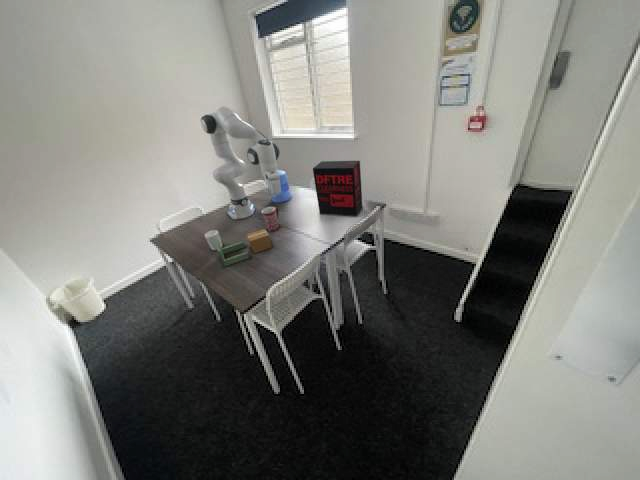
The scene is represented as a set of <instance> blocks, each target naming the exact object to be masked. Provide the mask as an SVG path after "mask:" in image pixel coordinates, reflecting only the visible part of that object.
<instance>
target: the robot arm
mask: <svg viewBox="0 0 640 480" xmlns="http://www.w3.org/2000/svg"><path fill="white" fill-rule="evenodd" d="M200 124H201V127H202V129H203V131H204V132H205V133H206V134H209V136H210V137H209V138H210V141H211V144H212V147H213V150H214V152H215V155H216V157H218V158H220V159H222V160H224V162H225V163H224V164H222V165H219V166H217V167H216V168H214V169H213V171H212V177H213V179H214V181H215V182H217V183H218V184H221V185H223V186H224V187H225V188H226V190H227V192H228V194H229V197H230V198H229V199H230V205H229V206H228V212H227V215H228V216H229V217H230V218H231V219H232V220H238V219H239V220H241V219H245V218H249V217H251V216H252V215H253V214H254V213H255V210H256V209H255V207H254V204H253V203H252V202H251V200H250V199H249V197H248V194H247V193H246V189H245V187H244V185H243V184H242V183H240V182H237V181H236V179H237V178H238V177H241V176H242V175H244V174H245V173H246V172H247V169H248V168H247V164H246V162H245V161H244V160H242V159H240V158H239V157H238V156H237V155H236V154H235V152H234V149H233V147H232V144H231V141H230V138H229V137H231V138H233V139H235V140H236V139H237V140H242V139H243V140H250V141H251V140H252V141H254V142H255V143H256V144H254V145H253V146H250V147H249V148H247V152H246V158H247V160H248V162H249V163H250V164H252V165H253V166H258V165H259V166H260V172H261V177H262V178H264V183H265V185H266V186H267V187H268V189H269V188H270V190H271V193H272V196H273V197H276V194H278V193H280V192H281V187H280V180H279V178H280V174H279V172H278V170H279V169H278V164H277V160H278V159H279V157H280V151H281V150H280V147H279V146H278V145H277V144H276V143H275V142H274V141H272V140H270V139H269V138H268V137H267V136H265V135H264V133H262V132H261V131H260V130H259V129H257V128H256V127H255V126H253V125H251V124H249V123H247V122H245V120H242V119H241V118H240V117H239V116H238V114H236V112H235V111H234V110H232V109H231V108H229V107H227V106H220V107H219V108H218V109H217V110H216V111H215V112H212V113H209V114H204V115H202V116H201V118H200ZM270 190H269V191H270ZM271 193H270V194H271Z"/></svg>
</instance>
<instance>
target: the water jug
mask: <svg viewBox="0 0 640 480" xmlns="http://www.w3.org/2000/svg"><path fill="white" fill-rule="evenodd" d="M278 172H279V174H280V178H279V180H280V187H281V192H280V193H278V194H276V197H273V196H272V193H271V190H270V188H269V187H268V189H269V193H270V196H271V201H272V202H273V203H279V204H280V203H285V202H287V201H289V200H290V199H291V198H292V194H291V189H290V185H289V180H288V176H287V172H286V171H284V170H280V169H278Z"/></svg>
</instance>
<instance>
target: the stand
mask: <svg viewBox="0 0 640 480" xmlns="http://www.w3.org/2000/svg"><path fill="white" fill-rule="evenodd" d="M216 245H217V250H216V251H217V253H218V256H219V258H220V261H221V263H222V265H223V267H224V268H225V267H227V266H230V265H233V264H236V263H240V262H242V261H245V260H247V259H250V255H249V252H248V251H246V252H243V253H239V254H237V255H234V256H230V257H227V258H225V255H226V254H229V253H233V252H235V251H237V250H240V249H243V248H246V245H245V242H244V241H240V242H237V243H234V244H231V245H228V246H225V247H221V246H220V244H219V241H218V239H217V240H216Z"/></svg>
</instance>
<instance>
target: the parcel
mask: <svg viewBox="0 0 640 480" xmlns="http://www.w3.org/2000/svg"><path fill="white" fill-rule="evenodd" d="M246 237H247V239H248V243H249V245H250V248H251V251H252V253H253V254H256V253H257V254H258V253H260V252H263V251H265V250H269V249H272V248H273V246H272V243H271V238H270V235H269V233H268V232H267V230H266V228H262V229H259V230H257V231H253V232H250V233H247V234H246Z"/></svg>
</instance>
